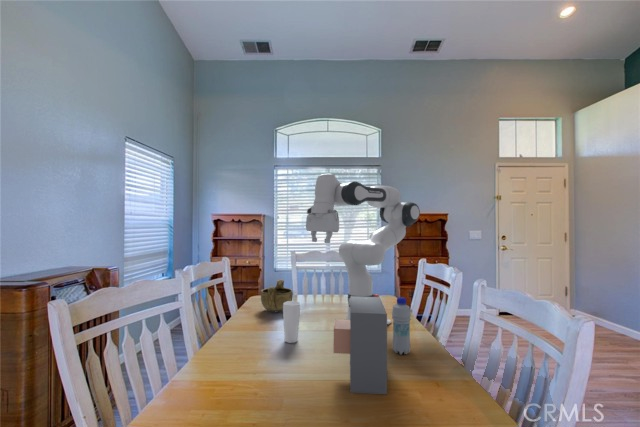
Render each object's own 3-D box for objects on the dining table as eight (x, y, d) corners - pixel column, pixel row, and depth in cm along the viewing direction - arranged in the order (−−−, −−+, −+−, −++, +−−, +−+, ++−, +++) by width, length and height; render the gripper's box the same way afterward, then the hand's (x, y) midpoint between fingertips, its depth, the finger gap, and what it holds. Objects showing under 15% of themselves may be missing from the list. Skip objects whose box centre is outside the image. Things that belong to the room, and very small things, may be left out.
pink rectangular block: (333, 353, 94) (333, 328, 94) (334, 341, 103) (334, 319, 103) (350, 353, 93) (350, 329, 93) (350, 342, 102) (350, 319, 103)
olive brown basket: (267, 304, 180) (267, 278, 181) (296, 306, 178) (296, 279, 179) (254, 316, 158) (255, 286, 159) (287, 317, 156) (288, 287, 157)
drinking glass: (297, 345, 121) (297, 305, 122) (280, 343, 123) (280, 304, 123) (301, 338, 128) (301, 301, 128) (285, 337, 129) (286, 300, 130)
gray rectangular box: (350, 392, 88) (350, 312, 88) (350, 361, 107) (350, 296, 108) (386, 394, 87) (386, 313, 87) (379, 362, 107) (379, 297, 107)
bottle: (411, 350, 117) (411, 296, 118) (410, 357, 111) (410, 300, 111) (392, 347, 119) (392, 294, 120) (390, 354, 113) (390, 298, 114)
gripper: (344, 210, 129) (341, 244, 128) (316, 211, 146) (313, 241, 145) (332, 208, 125) (329, 243, 124) (304, 210, 142) (301, 240, 141)
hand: (320, 242), depth 134 cm, fingers open, 8 cm apart
